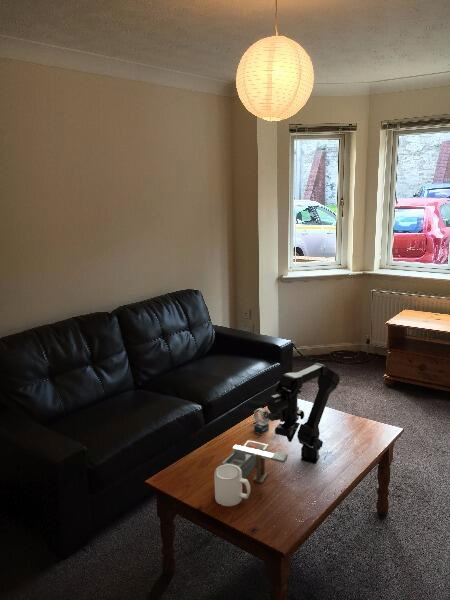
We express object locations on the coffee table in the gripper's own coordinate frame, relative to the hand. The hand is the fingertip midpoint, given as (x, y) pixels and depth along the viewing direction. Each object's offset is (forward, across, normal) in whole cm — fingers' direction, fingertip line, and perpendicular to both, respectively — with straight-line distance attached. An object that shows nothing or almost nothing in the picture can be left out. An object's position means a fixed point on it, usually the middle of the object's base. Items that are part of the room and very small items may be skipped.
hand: (290, 441), depth 190 cm
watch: (+13, -26, -23) cm, 37 cm away
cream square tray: (+13, -5, -18) cm, 23 cm away
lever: (+7, +10, -10) cm, 15 cm away
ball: (+10, -5, -19) cm, 23 cm away
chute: (+13, +9, -18) cm, 24 cm away
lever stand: (+13, +10, -9) cm, 18 cm away
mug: (+13, +26, -14) cm, 32 cm away
